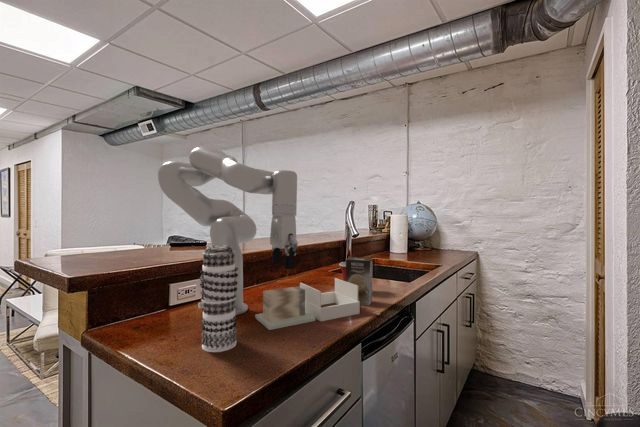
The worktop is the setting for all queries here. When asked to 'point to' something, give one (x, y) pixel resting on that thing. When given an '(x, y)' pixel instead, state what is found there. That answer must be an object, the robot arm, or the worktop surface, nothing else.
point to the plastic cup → (343, 270)
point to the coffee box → (360, 277)
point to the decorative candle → (218, 299)
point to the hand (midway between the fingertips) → (283, 265)
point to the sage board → (284, 321)
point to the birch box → (283, 303)
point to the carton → (332, 301)
